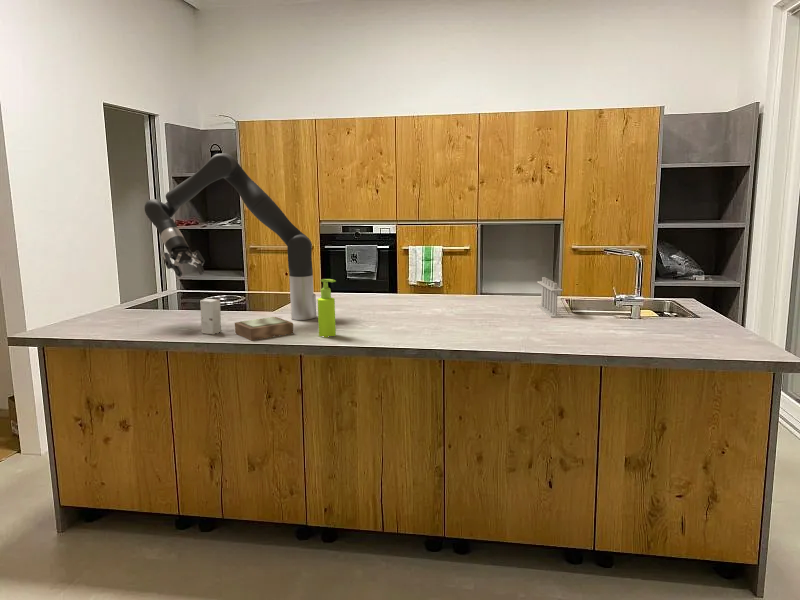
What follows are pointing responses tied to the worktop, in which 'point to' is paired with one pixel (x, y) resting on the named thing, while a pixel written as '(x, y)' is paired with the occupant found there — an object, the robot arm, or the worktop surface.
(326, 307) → the soap dispenser
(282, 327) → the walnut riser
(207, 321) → the skincare box
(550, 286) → the test tube rack
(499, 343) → the worktop surface
